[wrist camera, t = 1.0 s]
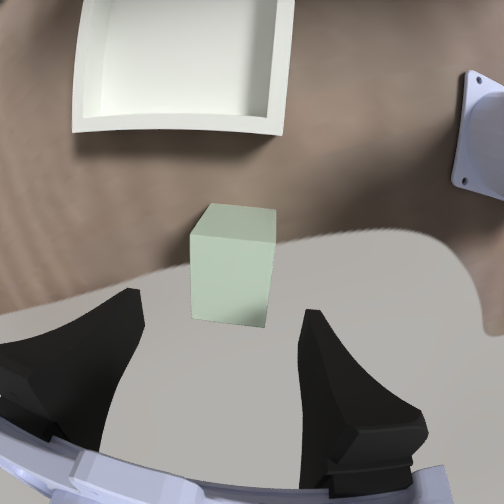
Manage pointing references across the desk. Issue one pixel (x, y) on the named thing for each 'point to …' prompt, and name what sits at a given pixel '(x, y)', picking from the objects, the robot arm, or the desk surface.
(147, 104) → the desk bin
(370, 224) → the desk surface
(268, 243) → the sage block
